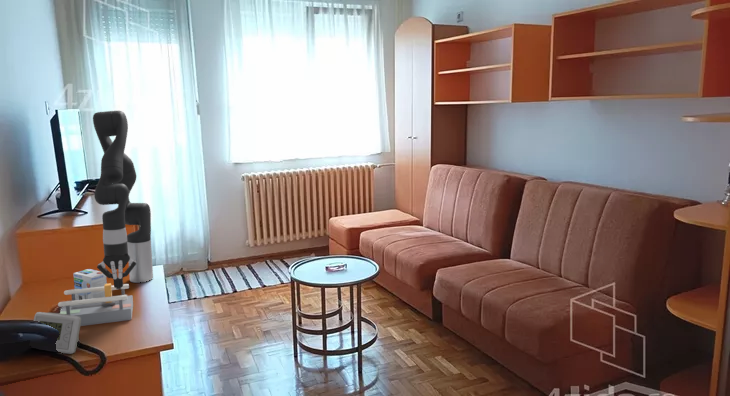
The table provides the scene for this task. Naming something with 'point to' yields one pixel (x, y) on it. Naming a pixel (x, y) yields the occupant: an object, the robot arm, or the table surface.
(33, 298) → the table surface
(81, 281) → the light bulb box
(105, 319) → the breaker panel
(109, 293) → the breaker toggle
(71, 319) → the digital clock
